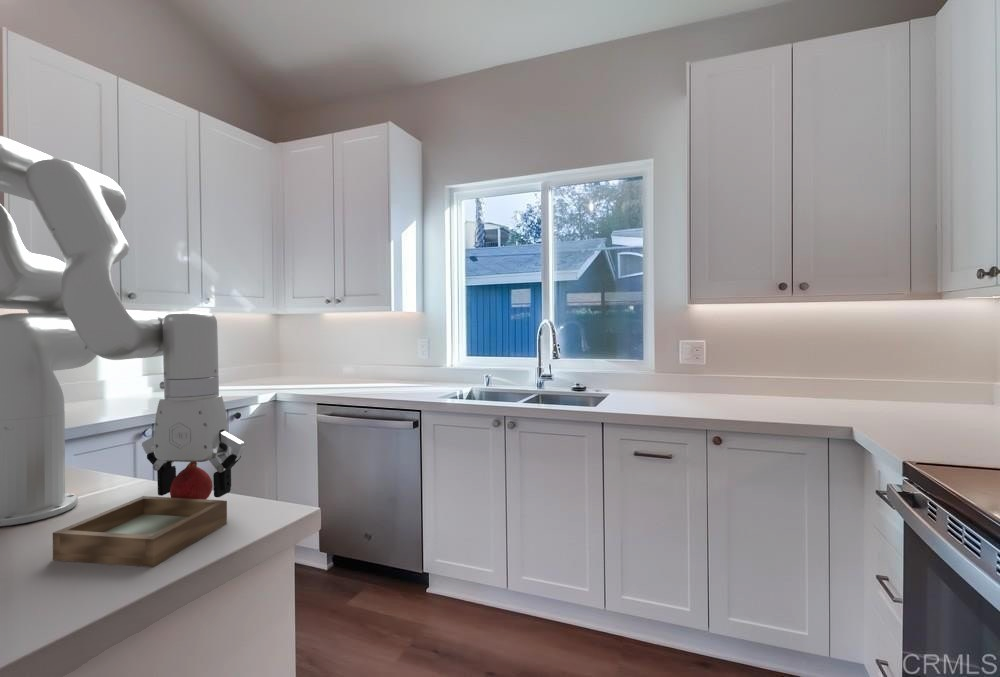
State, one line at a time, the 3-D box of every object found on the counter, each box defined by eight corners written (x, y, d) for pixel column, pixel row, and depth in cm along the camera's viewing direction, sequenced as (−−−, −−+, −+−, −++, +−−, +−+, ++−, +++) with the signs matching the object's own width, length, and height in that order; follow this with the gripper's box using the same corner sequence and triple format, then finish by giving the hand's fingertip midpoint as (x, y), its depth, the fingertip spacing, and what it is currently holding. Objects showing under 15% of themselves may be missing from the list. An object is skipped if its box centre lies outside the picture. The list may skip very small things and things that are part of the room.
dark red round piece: (192, 519, 78) (192, 467, 78) (161, 515, 79) (160, 465, 79) (220, 506, 84) (220, 458, 83) (190, 503, 85) (190, 456, 84)
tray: (52, 559, 64) (52, 532, 64) (143, 518, 78) (142, 496, 78) (152, 567, 62) (152, 539, 62) (226, 523, 76) (226, 500, 76)
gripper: (123, 391, 78) (126, 500, 79) (226, 391, 76) (229, 503, 76) (161, 385, 86) (164, 485, 86) (256, 386, 84) (258, 487, 84)
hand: (194, 493), depth 81 cm, fingers open, 9 cm apart
